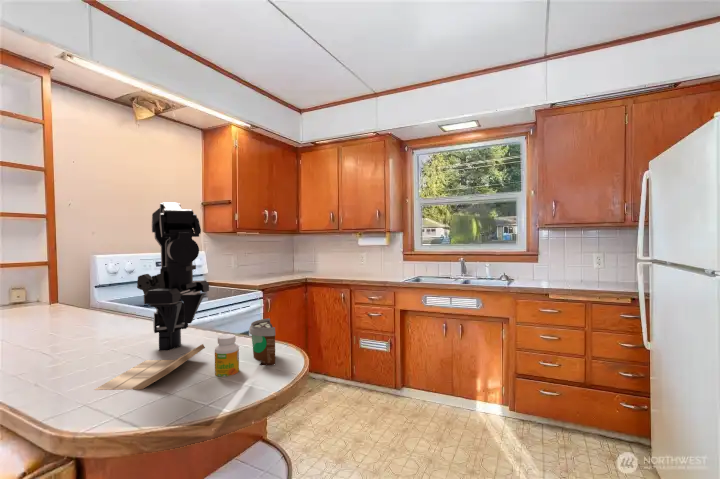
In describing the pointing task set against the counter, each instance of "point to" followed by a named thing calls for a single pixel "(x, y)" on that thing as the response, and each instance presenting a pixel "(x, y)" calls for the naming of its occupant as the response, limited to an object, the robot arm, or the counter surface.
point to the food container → (263, 341)
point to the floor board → (135, 375)
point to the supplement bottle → (226, 356)
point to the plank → (169, 368)
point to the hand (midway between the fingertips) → (180, 327)
